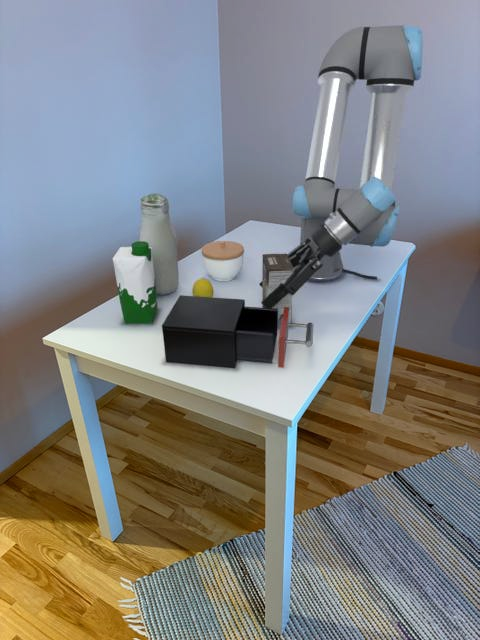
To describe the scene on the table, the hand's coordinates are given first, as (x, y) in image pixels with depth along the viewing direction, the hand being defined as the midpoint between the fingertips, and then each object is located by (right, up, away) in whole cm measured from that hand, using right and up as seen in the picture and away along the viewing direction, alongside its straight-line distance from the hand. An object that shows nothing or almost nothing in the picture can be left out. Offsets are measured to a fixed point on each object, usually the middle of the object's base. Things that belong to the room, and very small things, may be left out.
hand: (264, 296), depth 116 cm
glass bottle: (-28, +2, +17) cm, 33 cm away
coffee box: (+3, -6, +3) cm, 7 cm away
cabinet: (-14, -12, -8) cm, 20 cm away
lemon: (-16, -2, +10) cm, 19 cm away
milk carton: (-32, -5, +5) cm, 33 cm away
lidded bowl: (-11, +7, +26) cm, 29 cm away
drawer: (0, -13, -10) cm, 16 cm away
